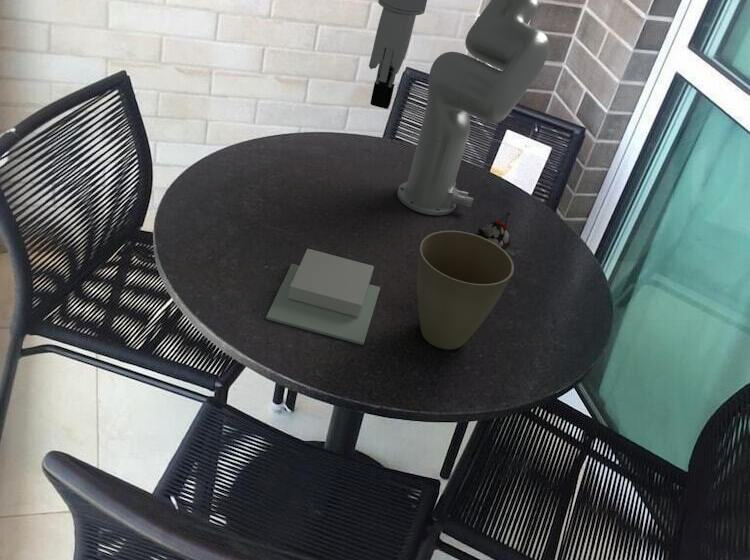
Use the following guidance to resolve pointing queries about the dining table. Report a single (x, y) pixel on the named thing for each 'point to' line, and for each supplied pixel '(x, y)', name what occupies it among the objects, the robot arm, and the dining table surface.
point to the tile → (331, 282)
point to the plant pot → (458, 285)
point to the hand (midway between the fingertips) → (379, 105)
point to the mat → (322, 314)
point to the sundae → (496, 233)
